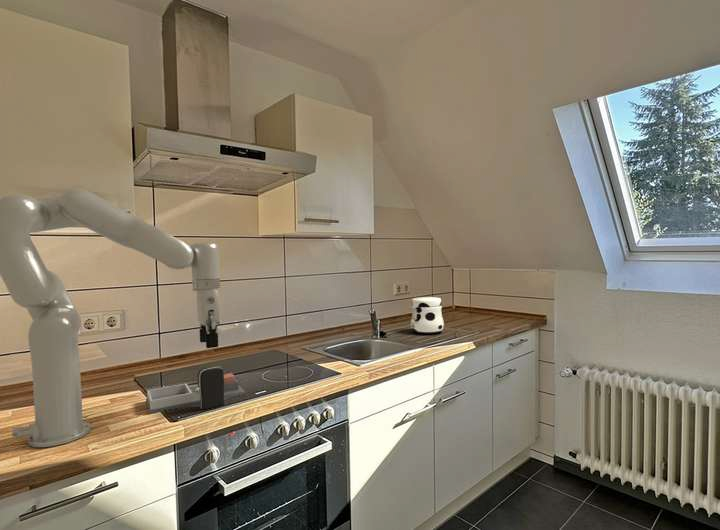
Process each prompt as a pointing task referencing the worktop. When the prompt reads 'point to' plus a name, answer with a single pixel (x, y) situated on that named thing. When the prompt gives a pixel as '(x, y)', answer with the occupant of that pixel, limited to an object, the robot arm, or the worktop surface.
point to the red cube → (229, 378)
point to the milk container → (427, 315)
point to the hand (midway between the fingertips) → (208, 344)
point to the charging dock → (183, 396)
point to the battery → (211, 387)
